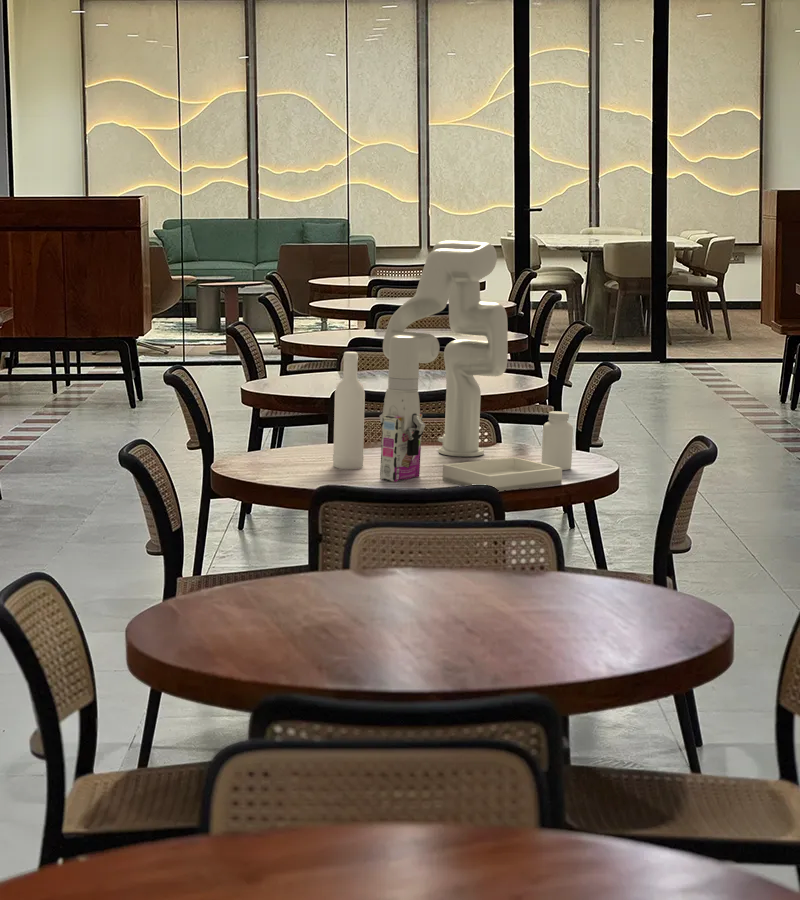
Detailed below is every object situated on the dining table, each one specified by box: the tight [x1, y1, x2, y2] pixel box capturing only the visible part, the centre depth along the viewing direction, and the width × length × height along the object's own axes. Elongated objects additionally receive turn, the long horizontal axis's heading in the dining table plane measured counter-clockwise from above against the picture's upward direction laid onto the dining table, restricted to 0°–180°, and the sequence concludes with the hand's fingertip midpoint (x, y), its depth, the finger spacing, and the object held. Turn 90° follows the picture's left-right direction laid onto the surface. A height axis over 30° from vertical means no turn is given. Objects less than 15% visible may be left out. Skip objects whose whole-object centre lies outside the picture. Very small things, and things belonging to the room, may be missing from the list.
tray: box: [442, 456, 563, 492], centre depth 396 cm, size 18×24×4 cm
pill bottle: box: [541, 410, 574, 471], centre depth 417 cm, size 8×8×15 cm
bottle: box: [332, 351, 366, 470], centre depth 408 cm, size 8×8×30 cm
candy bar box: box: [379, 413, 423, 483], centre depth 395 cm, size 11×5×16 cm, turn 144°
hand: (400, 452), depth 395 cm, fingers open, 9 cm apart
